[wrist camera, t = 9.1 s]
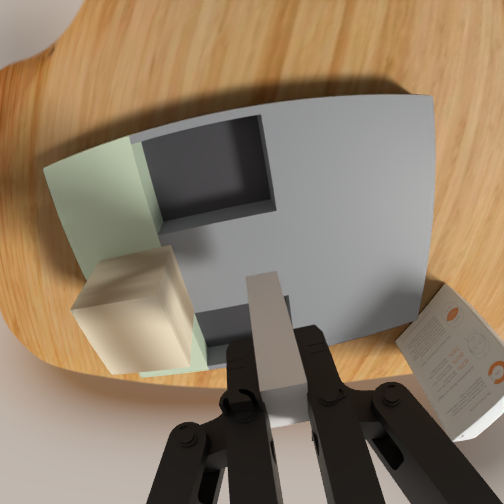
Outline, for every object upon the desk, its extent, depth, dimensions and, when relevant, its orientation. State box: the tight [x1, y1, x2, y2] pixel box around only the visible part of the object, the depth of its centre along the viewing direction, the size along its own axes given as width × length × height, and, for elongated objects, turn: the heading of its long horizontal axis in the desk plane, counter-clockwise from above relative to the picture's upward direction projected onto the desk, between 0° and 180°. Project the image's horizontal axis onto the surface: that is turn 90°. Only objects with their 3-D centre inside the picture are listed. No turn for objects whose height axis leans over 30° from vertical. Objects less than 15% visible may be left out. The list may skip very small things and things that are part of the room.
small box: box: [395, 283, 504, 442], centre depth 21 cm, size 8×6×13 cm
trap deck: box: [43, 94, 435, 377], centre depth 20 cm, size 24×18×2 cm
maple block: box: [70, 245, 194, 375], centre depth 16 cm, size 5×5×5 cm
